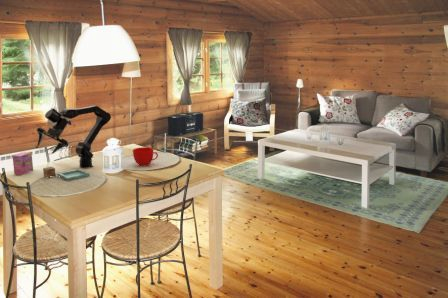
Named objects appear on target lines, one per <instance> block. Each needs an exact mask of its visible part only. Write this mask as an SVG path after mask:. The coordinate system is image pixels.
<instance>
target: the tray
mask: <svg viewBox="0 0 448 298" xmlns="http://www.w3.org/2000/svg"><path fill="white" fill-rule="evenodd" d="M57 176H58V177H59V176H60V177H59V178H60V179H62V180H65V181H67V182H70V181H74V179H75V180H79V178H80V179H83V178H88V176H89V177H90V173H89V172H86V171H85V170H82V169H80V168H78V169H73V170H68V171H63V172H58V173H57Z"/></svg>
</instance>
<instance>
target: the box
mask: <svg viewBox="0 0 448 298" xmlns="http://www.w3.org/2000/svg"><path fill="white" fill-rule="evenodd" d="M32 153H33V152H32V151H21V152H20V153H16V154H13V155H12V163H13V164H12V166H13V172H14V176H15V175H16V176H24V175H26V174H28V173H30V172H33V171H34V165H33V154H32Z"/></svg>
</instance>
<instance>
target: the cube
mask: <svg viewBox="0 0 448 298" xmlns="http://www.w3.org/2000/svg"><path fill="white" fill-rule="evenodd" d="M42 171H43V177H45V178H46V177H50V176H55V177H56V175H57V174H56V168H55V167H53V166H48V167H47V166H46V167H43V169H42ZM50 178H51V177H50Z"/></svg>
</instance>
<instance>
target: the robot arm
mask: <svg viewBox="0 0 448 298" xmlns="http://www.w3.org/2000/svg"><path fill="white" fill-rule="evenodd" d="M92 113H94V116H96V118H95V123H94V125H93V126H92V128H91V129H90V131H89V133H87V136H86V137H85V139H84V140H83V141H79V142H78V143H77V145H76V146H75V154H76V155H77V156H78V158H79V162H78V163H79V168H81V169H88V168H92V167H94V165H93V160H92V158H94V153H92V152H91V150H92V144H93V143H94V141H95V140H96V138H97V137H98V135H99V134H100V131H101V130H102V128H103V127H104V126H106V125H107V124H108V123H109V122H110V121H111V118H112V116H111V113H110V112H107V111H106V110H104V109H102V108H101V107H100V106H98V105H95V104H94V105H90V106H84V107H80V108H79V107H78V108H63V109H62V110H61V111H57V110H56V109H55V108H53V107H52V108H50V110H47V111H46V113H45V114H44V118H45V119H47V120H48V121H50V122H51V123H53V124H54V125H52V126H51V127H49V128H48V130H47V131H46V129H45V128H42V127H40V126H39V127H37V129H36V132H37V134H38V140H37V144H36V145H37V147H39V146H40V145H41V143H42V142H43V140H44V138H45V136H47V137H48V138H50V139H53V140H54V141H56V142H58V143H57V145H56V147H55V148H54V149H53V150H52V152H51V154H55V153H57V152H58V151H59V150H60V149H62V148H68V147H69V145H70V143H69V141H68V140H66V139H65V138H60V136H61V135H62V134H63V133H64V131H65V128H67V126H68V125H69V126H72V122H71V120H72V119H74V118H77V117H79V116H82V115H88V114H92Z"/></svg>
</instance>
